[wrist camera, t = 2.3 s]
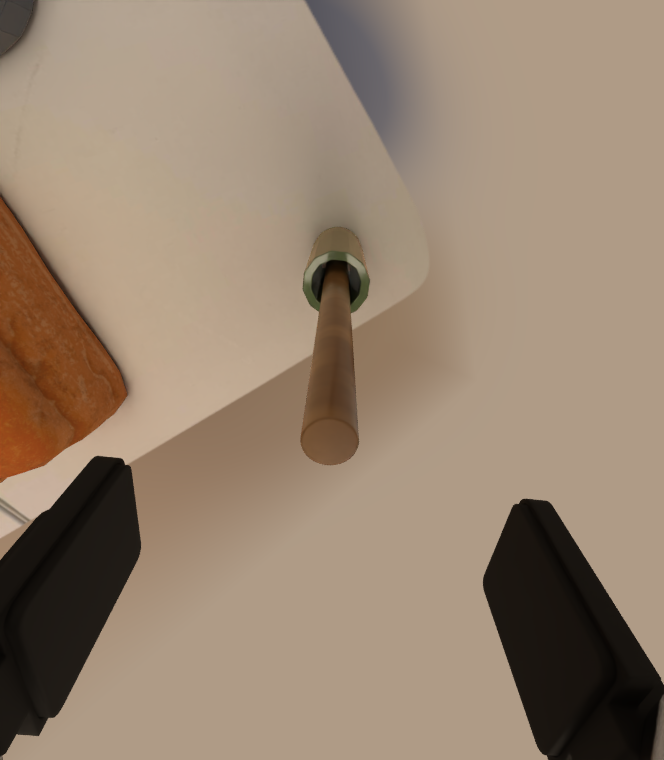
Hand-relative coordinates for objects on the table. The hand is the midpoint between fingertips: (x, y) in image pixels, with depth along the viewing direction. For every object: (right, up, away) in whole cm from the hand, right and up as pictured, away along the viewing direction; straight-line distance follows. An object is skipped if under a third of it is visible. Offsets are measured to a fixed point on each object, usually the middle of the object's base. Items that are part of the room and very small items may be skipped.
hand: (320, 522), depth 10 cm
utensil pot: (+1, +16, +29) cm, 33 cm away
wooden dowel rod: (+1, +15, +29) cm, 33 cm away
